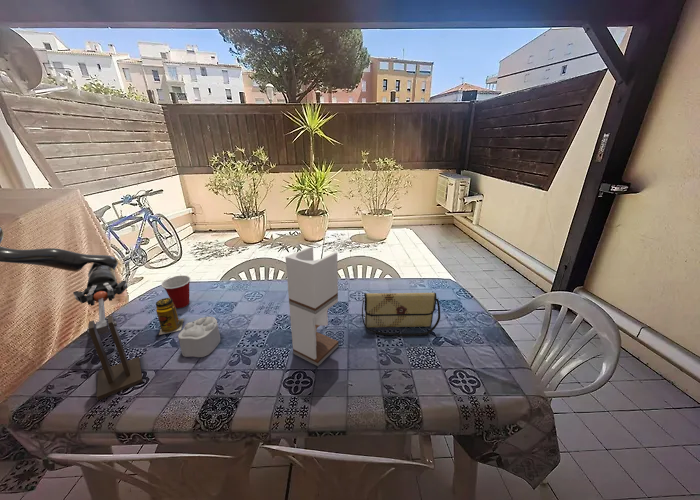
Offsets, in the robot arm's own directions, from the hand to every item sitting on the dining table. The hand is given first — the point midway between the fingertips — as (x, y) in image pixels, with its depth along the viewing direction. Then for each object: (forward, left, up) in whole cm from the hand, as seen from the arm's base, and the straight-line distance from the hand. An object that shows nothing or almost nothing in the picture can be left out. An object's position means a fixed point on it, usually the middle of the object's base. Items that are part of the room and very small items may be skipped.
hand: (101, 300), depth 84 cm
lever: (0, -5, -3) cm, 6 cm away
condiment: (+16, +7, -21) cm, 27 cm away
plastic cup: (+22, +23, -21) cm, 38 cm away
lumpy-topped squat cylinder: (+23, -12, -21) cm, 33 cm away
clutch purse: (+83, -51, -21) cm, 99 cm away
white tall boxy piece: (+52, -40, -21) cm, 69 cm away
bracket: (0, -13, -21) cm, 25 cm away
